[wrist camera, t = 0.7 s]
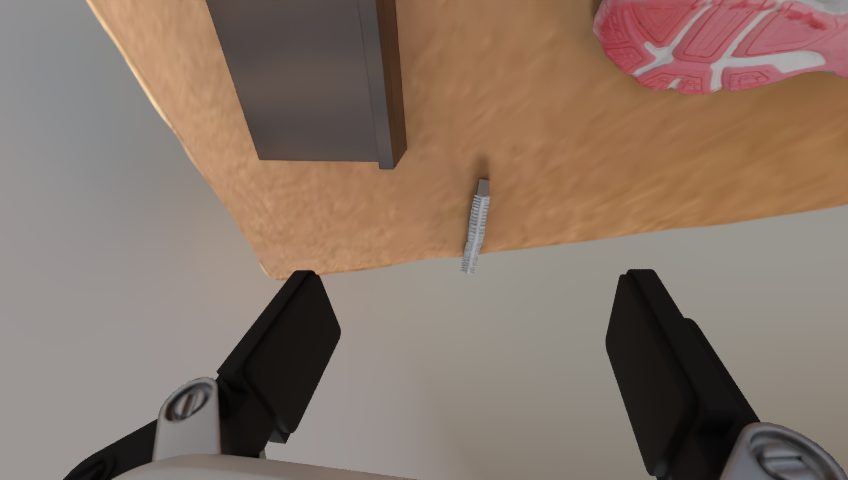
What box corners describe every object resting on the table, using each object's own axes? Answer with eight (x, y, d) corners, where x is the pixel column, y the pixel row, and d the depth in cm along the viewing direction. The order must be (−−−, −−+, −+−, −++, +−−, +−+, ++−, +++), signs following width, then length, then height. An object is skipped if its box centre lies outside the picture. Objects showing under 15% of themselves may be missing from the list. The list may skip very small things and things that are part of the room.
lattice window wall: (475, 260, 45) (473, 290, 40) (461, 258, 45) (458, 287, 40) (492, 177, 38) (492, 201, 33) (476, 175, 38) (474, 198, 33)
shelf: (192, -142, 27) (125, -176, 22) (381, -173, 24) (352, -220, 20) (278, 148, 40) (248, 166, 36) (407, 149, 38) (393, 169, 33)
